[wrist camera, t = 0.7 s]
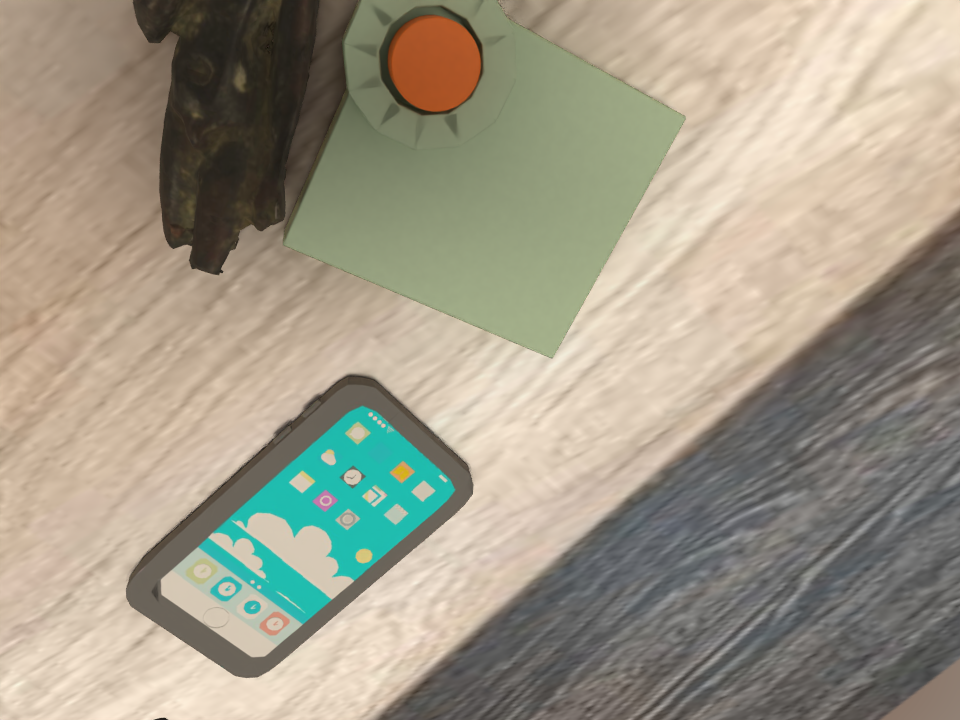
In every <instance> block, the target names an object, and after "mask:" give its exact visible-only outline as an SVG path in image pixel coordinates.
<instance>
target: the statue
mask: <svg viewBox="0 0 960 720" xmlns="http://www.w3.org/2000/svg"><path fill="white" fill-rule="evenodd" d="M133 4H134V9H135V14H136V18H137V22H138V25H139V26H140V28H141V30H142V31H143V33H144V35H145V37H146V38H147V40H148V42H149V43H161V41H162V40H163V39H164V38H165V37H166V35H167V34H168V33H169V32H170V31H172V32H173V33H175V34H177V35H179V36H180V37H179V40H178V42H177V45H176V48H175V52H174V57H173V61H172V82H171V87H170V92H169V98H168V104H167V108H166V113H165V119H164V129H163V136H162V144H161V154H160V188H159V191H160V201H161V208H162V221H163V229H164V234H165V237H166V240H167V242H168V244H169V246H170V247H171V248H172V249H174V248H177V247H180V246H183V245H190V246H192V251H191V255H190V259H189V261H190V264H191V268H192V269H199V270H201V271H204V272H208V273H211V274H215V275H219V273H223V271H222V270H221V267H222V265H223V264H224V262H225V260H226V258H227V256H228V254H229V252H230V250H234V249H235V248H236V246H237V243H238V240H239V238H238V235H239V233H240V230H242V229H244V228H245V227H247V226H249V225H251V224H252V225H254V226H255V227H256V229H257V230H259V231H263V230H264V229H266V228H267V227H269V226H270V225H275V224H277V223H279V222H281V221H283V220H284V217H285V188H284V179H285V176H286V168H285V164H286V161H287V158H288V153H289V149H290V145H291V142H292V139H293V135H294V132H295V129H296V125H297V122H298V118H299V114H300V110H301V106H302V102H303V99H304V95H305V91H306V86H307V81H308V78H309V68H310V63H311V59H312V54H313V48H314V43H315V37H316V24H317V14H318V6H319V0H133ZM273 27H274V29H273ZM272 30H273V33H272ZM272 40H274V41H272ZM267 45H269V47H270V48H266V47H267ZM269 52H270V53H269ZM235 242H236V243H235Z"/></svg>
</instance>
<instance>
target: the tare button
mask: <svg viewBox="0 0 960 720" xmlns="http://www.w3.org/2000/svg"><path fill="white" fill-rule="evenodd" d="M387 59H388V70H389V74H390V77H391V79H392V81H393V83H394V85H395V87H396V88H397V89H398V91H399V92H400V94H401V95H402V96H403V97H404V98H405V99H406V100H407V101H408V102H409V103H411V104H412V105H414V106H415V107H417V108H420V109H422V110H426V111H432V112H440V111H446V110H449V109H452V108H454V107H456V106H458V105H460V104H461V103H462V102H464V101H465V100H466V99H467V98H468V97H469V96H470V94H471V93H472V92H473V90H474V88H475V87H476V84H477V82H478V79H479V75H480V69H481V60H480V54H479V50H478V47H477V44H476V42H475V40H474V39H473V37H472V36H471V34H470V33H469V32H468V31H467V30H466V29H465V28H464V27H463V26H462V25H460V24H459V23H457V22H455V21H453V20H451V19H448V18H445V17H442V16H438V15H423V16H419V17H416V18H414V19H411V20H410V21H408V22H406V23H405V24H404V25H403V26H402V27H401V28H400V29H399V30H398V31H397V32H396V34H395V35H394V37H393V39H392V41H391V44H390V46H389V50H388V58H387Z"/></svg>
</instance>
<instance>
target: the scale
mask: <svg viewBox="0 0 960 720" xmlns="http://www.w3.org/2000/svg"><path fill="white" fill-rule="evenodd" d="M423 15H438V16H442V17H445V18H448V19H451V20H453V21H455V22H457V23H459V24H460V25H462V26H463V27H464V28H465V29H466V30H467V31H468V32H469V33H470V34H471V36H472V37H473V39H474V40H475V42H476V44H477V47H478V50H479V54H480V60H481V69H480V75H479V79H478V82H477V84H476V87H475V88H474V90H473V92H472V93H471V94H470V96H469V97H468V98H467V99H466V100H465V101H464V102H462V103H461V104H460V105H458V106H456V107H454V108H452V109H449V110H446V111H440V112H432V111H426V110H422V109H420V108H417V107H415V106H414V105H412V104H411V103H409V102H408V101H407V100H406V99H405V98H404V97H403V96H402V95H401V94H400V92H399V91H398V89H397V88H396V87H395V85H394V83H393V81H392V79H391V77H390V74H389V70H388V59H387V58H388V50H389V46H390V44H391V41H392V39H393V37H394V35H395V34H396V32H397V31H398V30H399V29H400V28H401V27H402V26H403V25H404V24H405V23H406V22H408V21H410V20H411V19H414V18H416V17H419V16H423ZM342 49H343V59H344V68H345V78H346V85H347V88H346V90H345V93H344V95H343V97H342V100H341V102H340V104H339V106H338V109H337V111H336V113H335V116H334V118H333V120H332V123H331V125H330V127H329V129H328V132H327V134H326V136H325V139H324V141H323V143H322V145H321V148H320V150H319V152H318V155H317V157H316V159H315V161H314V164H313V166H312V168H311V171H310V173H309V175H308V178H307V180H306V182H305V184H304V187H303V189H302V191H301V194H300V196H299V198H298V200H297V203H296V205H295V207H294V210H293V212H292V214H291V216H290V219H289V221H288V223H287V226H286V228H285V230H284V238H283V245H284V246H286V247H289V248H291V249H293V250H296V251H298V252H300V253H303V254H305V255H308V256H310V257H312V258H315V259H317V260H319V261H322V262H324V263H327V264H329V265H331V266H334V267H336V268H338V269H341V270H343V271H345V272H348V273H350V274H353V275H355V276H357V277H360V278H362V279H364V280H367V281H369V282H372V283H374V284H376V285H379V286H381V287H383V288H386V289H388V290H391V291H393V292H395V293H398V294H400V295H402V296H405V297H407V298H410V299H412V300H414V301H417V302H419V303H421V304H424V305H426V306H429V307H431V308H433V309H436V310H438V311H440V312H443V313H445V314H447V315H450V316H452V317H455V318H457V319H459V320H462V321H464V322H466V323H469V324H471V325H474V326H476V327H478V328H481V329H483V330H485V331H488V332H490V333H493V334H495V335H497V336H500V337H502V338H504V339H507V340H509V341H512V342H514V343H516V344H519V345H521V346H523V347H526V348H528V349H530V350H533V351H535V352H538V353H540V354H542V355H545V356H547V357H549V358H553V357H554V355H555V353H556V351H557V350H558V348H559V346H560V344H561V342H562V341H563V339H564V337H565V335H566V333H567V332H568V330H569V328H570V326H571V324H572V323H573V321H574V319H575V317H576V315H577V314H578V312H579V310H580V308H581V306H582V305H583V303H584V301H585V299H586V297H587V296H588V294H589V292H590V290H591V288H592V287H593V285H594V283H595V281H596V279H597V278H598V276H599V274H600V272H601V270H602V269H603V267H604V265H605V263H606V261H607V260H608V258H609V256H610V254H611V252H612V251H613V249H614V247H615V245H616V243H617V242H618V240H619V238H620V236H621V234H622V233H623V231H624V229H625V227H626V225H627V224H628V222H629V220H630V218H631V216H632V215H633V213H634V211H635V209H636V207H637V206H638V204H639V202H640V200H641V198H642V197H643V195H644V193H645V191H646V189H647V188H648V186H649V184H650V182H651V180H652V179H653V177H654V175H655V173H656V171H657V170H658V168H659V166H660V164H661V162H662V161H663V159H664V157H665V155H666V154H667V152H668V150H669V148H670V146H671V145H672V143H673V141H674V139H675V137H676V136H677V134H678V132H679V130H680V128H681V127H682V125H683V123H684V121H685V119H686V117H685V116H684V115H682V114H680V113H678V112H677V111H675V110H673V109H671V108H669V107H668V106H666V105H664V104H662V103H660V102H658V101H657V100H655V99H653V98H651V97H649V96H648V95H646V94H644V93H642V92H640V91H639V90H637V89H635V88H633V87H631V86H629V85H628V84H626V83H624V82H622V81H620V80H619V79H617V78H615V77H613V76H611V75H609V74H608V73H606V72H604V71H602V70H600V69H599V68H597V67H595V66H593V65H591V64H590V63H588V62H586V61H584V60H582V59H580V58H579V57H577V56H575V55H573V54H571V53H570V52H568V51H566V50H564V49H562V48H560V47H559V46H557V45H555V44H553V43H551V42H550V41H548V40H546V39H544V38H542V37H541V36H539V35H537V34H535V33H533V32H531V31H530V30H528V29H526V28H524V27H522V26H521V25H519V24H517V23H515V22H513V21H511V20H510V19H508V18H507V17H506V15H505V13H504V12H503V10H502V8H501V6H500V5H499V3H498V1H497V0H358V3H357V5H356V7H355V10H354V12H353V14H352V17H351V19H350V21H349V24H348V26H347V28H346V31H345V33H344V35H343V38H342Z"/></svg>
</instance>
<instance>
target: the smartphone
mask: <svg viewBox="0 0 960 720" xmlns="http://www.w3.org/2000/svg"><path fill="white" fill-rule="evenodd" d="M472 494H473V482H472V478H471V474H470V471H469V468H468V466H467V465H466V464H465V463H464V462H463V461H462V460H461V459H460V458H459V457H458V456H456V455H455V454H454V453H453V452H452V451H451V450H450V449H449V448H448V447H447V446H446V445H444V444H443V443H442V442H441V441H440V440H439V439H438V438H437V437H436V436H435V435H434V434H432V433H431V432H430V431H429V430H428V429H427V428H426V427H425V426H424V425H423V424H422V423H420V422H419V421H418V420H417V419H416V418H415V417H414V416H413V415H412V414H411V413H410V412H408V411H407V410H406V409H405V408H404V407H403V406H402V405H401V404H400V403H399V402H398V401H396V400H395V399H394V398H393V397H392V396H391V395H390V394H389V393H388V392H387V391H386V390H384V389H383V388H382V387H381V386H380V385H379V384H378V383H377V382H376V381H375V380H371V379H367V378H363V377H346V378H345V379H343V380H342V381H340V382H338V383H337V384H336V385H335V386H333V387H332V388H331V389H330V390H329V391H328V392H327V393H326V394H325V395H323V396H322V397H321V398H319V399H318V400H316V401H315V402H314V403H313V404H312V405H311V406H310V407H309V408H308V409H306V410H305V411H304V412H303V413H302V415H301V416H300V417H299V418H298V419H297V420H296V421H295V422H293V423H292V424H291V425H289V426H288V427H286V428H285V429H284V430H283V431H282V432H281V433H280V434H279V435H278V436H276V437H275V438H274V439H273V441H272V442H271V443H270V444H269V445H268V446H267V447H266V448H265V449H264V450H262V451H261V452H260V453H259V454H258V455H257V456H256V457H255V458H254V459H252V460H251V461H250V462H249V463H248V464H247V465H246V466H245V467H244V468H242V469H241V470H240V471H239V472H238V473H237V474H236V475H235V476H234V477H232V478H231V479H230V480H229V481H228V482H227V483H226V484H225V485H224V486H222V487H221V488H220V489H219V490H218V491H217V492H216V493H215V494H214V495H213V496H211V497H210V498H209V499H208V500H207V501H206V502H205V503H204V504H203V505H201V506H200V507H199V508H198V509H197V510H196V511H195V512H194V513H193V514H191V515H190V516H189V517H188V518H187V519H186V520H185V521H184V522H183V523H181V524H180V525H179V526H178V527H177V528H176V529H175V530H174V531H173V532H171V533H170V534H169V535H168V536H167V537H166V538H165V539H164V540H163V541H161V542H160V543H159V544H158V545H157V546H156V547H155V548H154V549H153V550H152V551H150V552H149V553H148V554H147V555H146V556H145V557H144V558H143V559H142V561H141V562H140V563H139V565H138V566H137V567H136V569H135V570H134V572H133V573H132V575H131V576H130V579H129V582H128V585H127V588H126V598H127V600H128V602H129V604H130V606H131V607H133V608H134V609H136V610H137V611H139V612H140V613H142V614H143V615H145V616H146V617H148V618H149V619H151V620H152V621H154V622H155V623H157V624H158V625H160V626H161V627H163V628H164V629H166V630H167V631H169V632H170V633H172V634H173V635H175V636H176V637H178V638H179V639H181V640H182V641H184V642H185V643H187V644H188V645H190V646H191V647H193V648H194V649H196V650H197V651H199V652H200V653H202V654H203V655H205V656H206V657H208V658H209V659H211V660H212V661H214V662H215V663H217V664H218V665H220V666H221V667H223V668H224V669H226V670H227V671H228V672H230V673H231V674H233V675H234V676H238V677H244V678H253V677H259V676H261V675H262V674H264V673H266V672H268V671H270V670H271V669H272V668H274V667H275V666H276V665H278V664H279V663H280V662H281V661H283V660H284V659H285V658H286V657H287V656H288V655H290V654H291V653H292V652H293V651H294V650H295V649H297V648H298V647H299V646H300V645H301V644H303V643H304V642H305V641H306V640H307V639H308V638H310V637H311V636H312V635H313V634H314V633H316V632H317V631H318V630H319V629H320V628H321V627H323V626H324V625H325V624H326V623H327V622H328V621H330V620H331V619H332V618H333V617H334V616H336V615H337V614H338V613H339V612H340V611H341V610H343V609H344V608H345V607H346V606H347V605H348V604H350V603H351V602H352V601H353V600H354V599H356V598H357V597H358V596H359V595H360V594H361V593H363V592H364V591H365V590H366V589H367V588H369V587H370V586H371V585H372V584H373V583H374V582H376V581H377V580H378V579H379V578H380V577H381V576H383V575H384V574H385V573H386V572H387V571H389V570H390V569H391V568H392V567H393V566H394V565H396V564H397V563H398V562H399V561H400V560H401V559H403V558H404V557H405V556H406V555H407V554H409V553H410V552H411V551H412V550H413V549H414V548H416V547H417V546H418V545H419V544H420V543H422V542H423V541H424V540H425V539H426V538H428V537H429V536H430V535H431V534H432V533H433V532H435V531H436V530H437V529H438V528H439V527H440V526H442V525H443V524H444V523H445V522H446V521H447V520H449V519H450V518H451V517H452V516H453V515H454V514H456V513H457V512H458V511H459V510H460V509H461V508H462V507H463V506H464V505H465V504H466V502H467V501H468V500H469V498H470V497H471V496H472Z"/></svg>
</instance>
